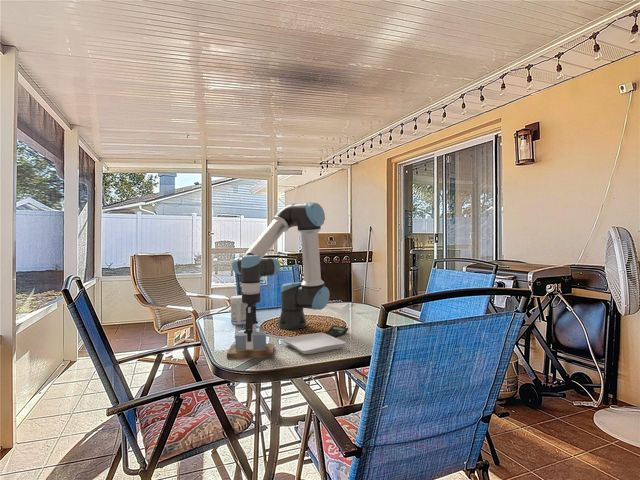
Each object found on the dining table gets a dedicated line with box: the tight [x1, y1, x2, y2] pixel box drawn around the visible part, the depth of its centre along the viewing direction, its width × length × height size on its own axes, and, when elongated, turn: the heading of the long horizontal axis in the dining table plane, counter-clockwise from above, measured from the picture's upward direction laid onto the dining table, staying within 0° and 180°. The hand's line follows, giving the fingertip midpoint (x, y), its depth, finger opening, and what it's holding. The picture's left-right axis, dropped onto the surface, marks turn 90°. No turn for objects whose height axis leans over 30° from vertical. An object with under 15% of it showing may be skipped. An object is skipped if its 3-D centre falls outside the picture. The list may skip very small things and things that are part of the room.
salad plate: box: [282, 332, 347, 355], centre depth 164 cm, size 21×21×3 cm
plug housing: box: [234, 330, 267, 351], centre depth 155 cm, size 12×6×6 cm, turn 94°
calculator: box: [322, 324, 349, 339], centre depth 184 cm, size 9×12×3 cm
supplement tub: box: [230, 294, 248, 326], centre depth 208 cm, size 10×10×15 cm
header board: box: [226, 343, 275, 359], centre depth 156 cm, size 18×12×6 cm, turn 94°
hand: (251, 344), depth 156 cm, fingers open, 13 cm apart
